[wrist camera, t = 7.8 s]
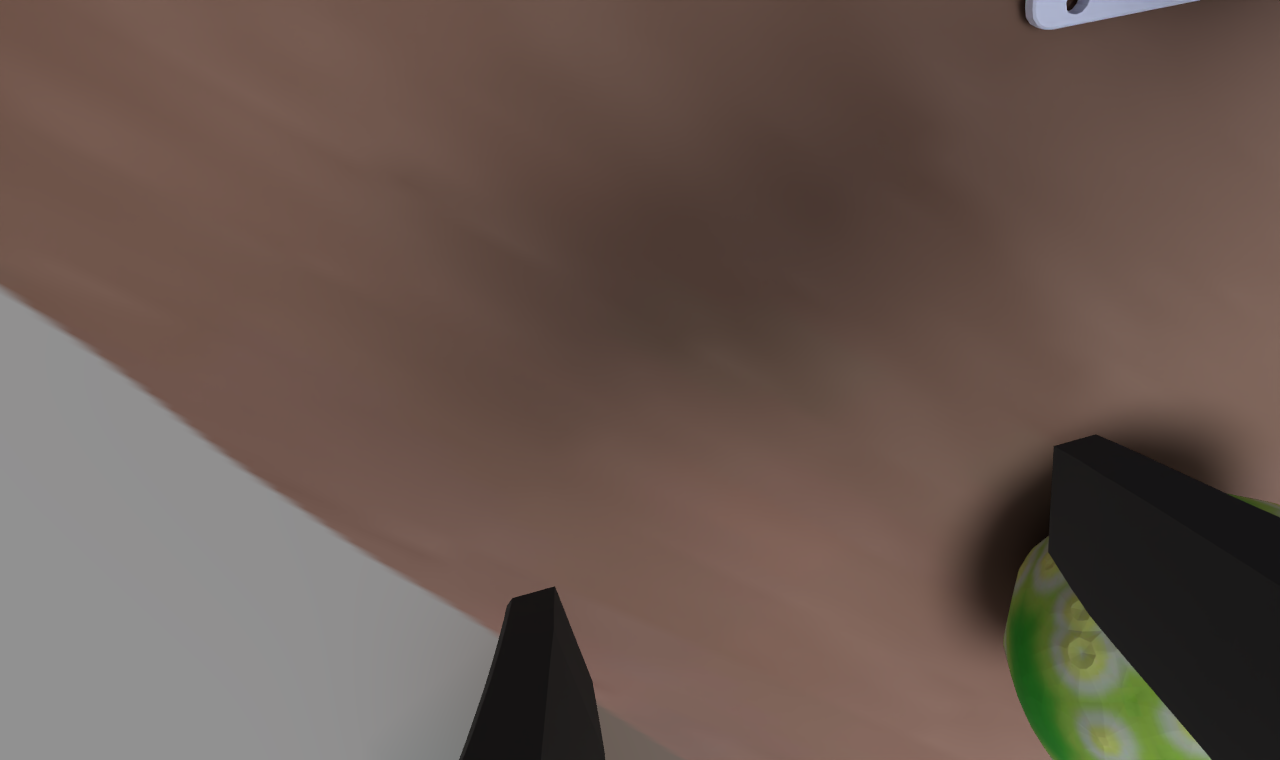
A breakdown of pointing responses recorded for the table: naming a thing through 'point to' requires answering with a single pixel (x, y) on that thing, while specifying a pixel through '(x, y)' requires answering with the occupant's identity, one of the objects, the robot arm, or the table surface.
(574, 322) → the table surface
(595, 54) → the table surface
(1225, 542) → the robot arm
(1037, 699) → the decorative ball
